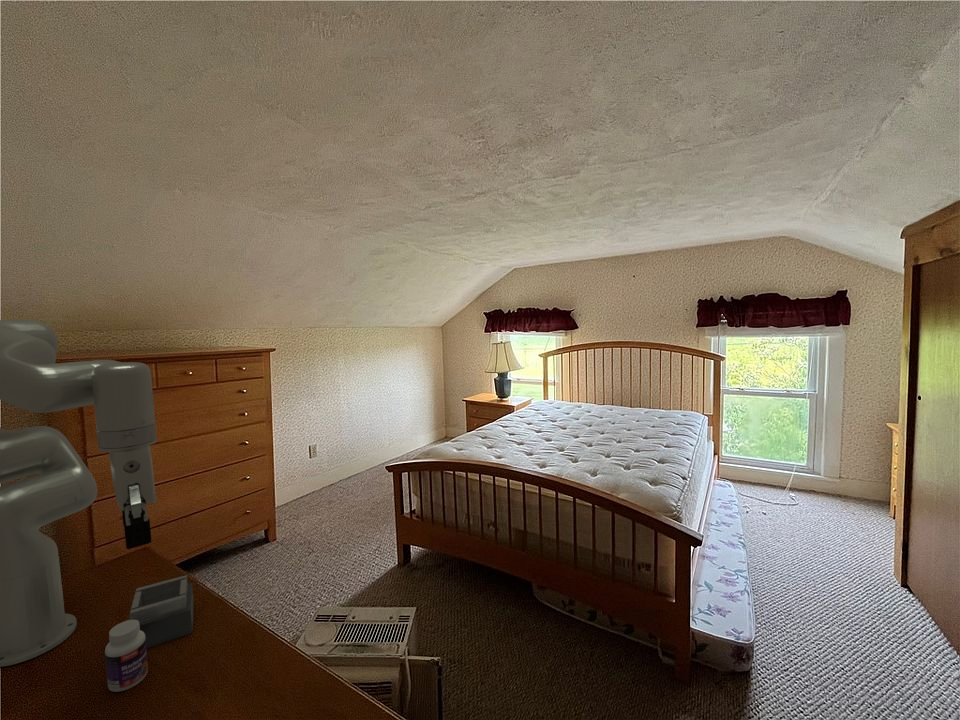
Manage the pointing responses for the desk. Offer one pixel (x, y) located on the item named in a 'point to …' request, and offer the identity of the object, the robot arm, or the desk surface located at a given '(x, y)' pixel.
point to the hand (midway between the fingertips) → (137, 534)
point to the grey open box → (164, 610)
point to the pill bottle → (126, 656)
